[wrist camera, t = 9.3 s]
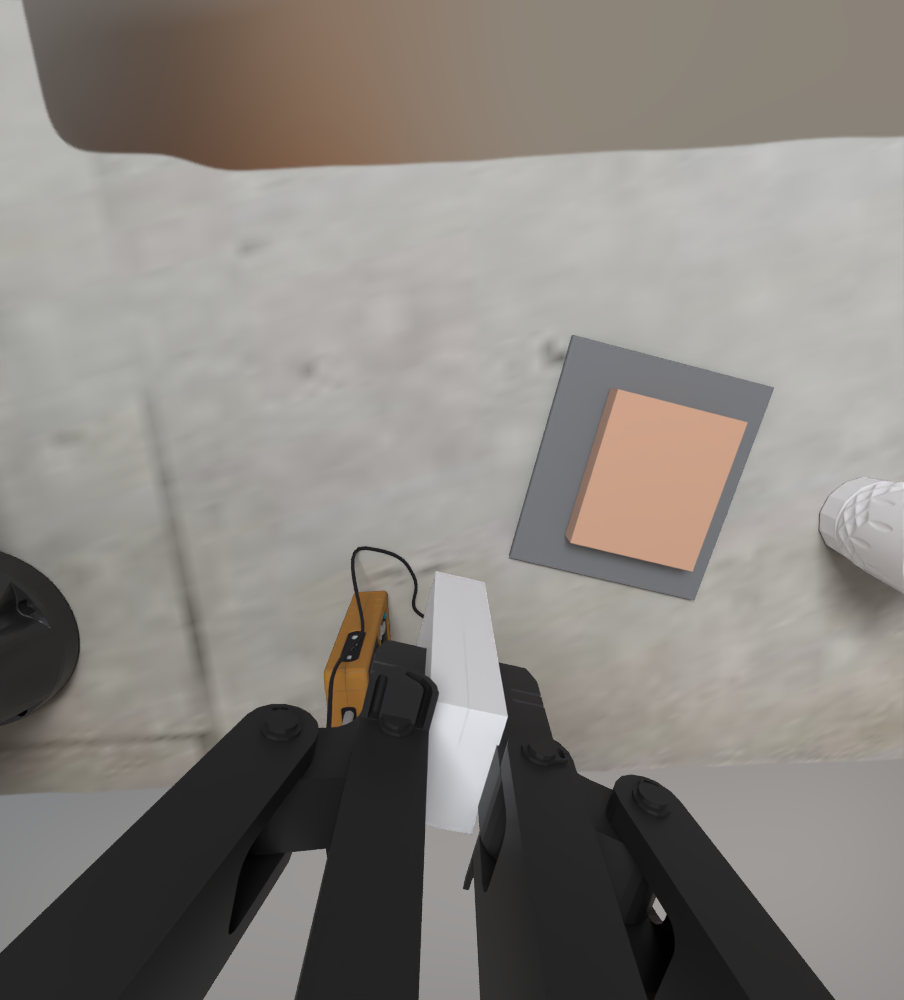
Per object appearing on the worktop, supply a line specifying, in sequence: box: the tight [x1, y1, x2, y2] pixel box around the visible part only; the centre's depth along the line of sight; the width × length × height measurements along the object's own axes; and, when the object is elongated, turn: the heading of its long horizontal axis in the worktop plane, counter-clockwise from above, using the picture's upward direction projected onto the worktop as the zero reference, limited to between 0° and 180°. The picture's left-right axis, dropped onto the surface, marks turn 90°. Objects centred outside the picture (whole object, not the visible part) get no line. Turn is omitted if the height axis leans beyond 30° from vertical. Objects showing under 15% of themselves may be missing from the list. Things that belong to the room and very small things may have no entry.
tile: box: [565, 388, 748, 572], centre depth 45 cm, size 2×12×10 cm
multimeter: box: [324, 546, 424, 857], centre depth 40 cm, size 15×10×20 cm
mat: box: [509, 335, 774, 600], centre depth 46 cm, size 16×18×1 cm
